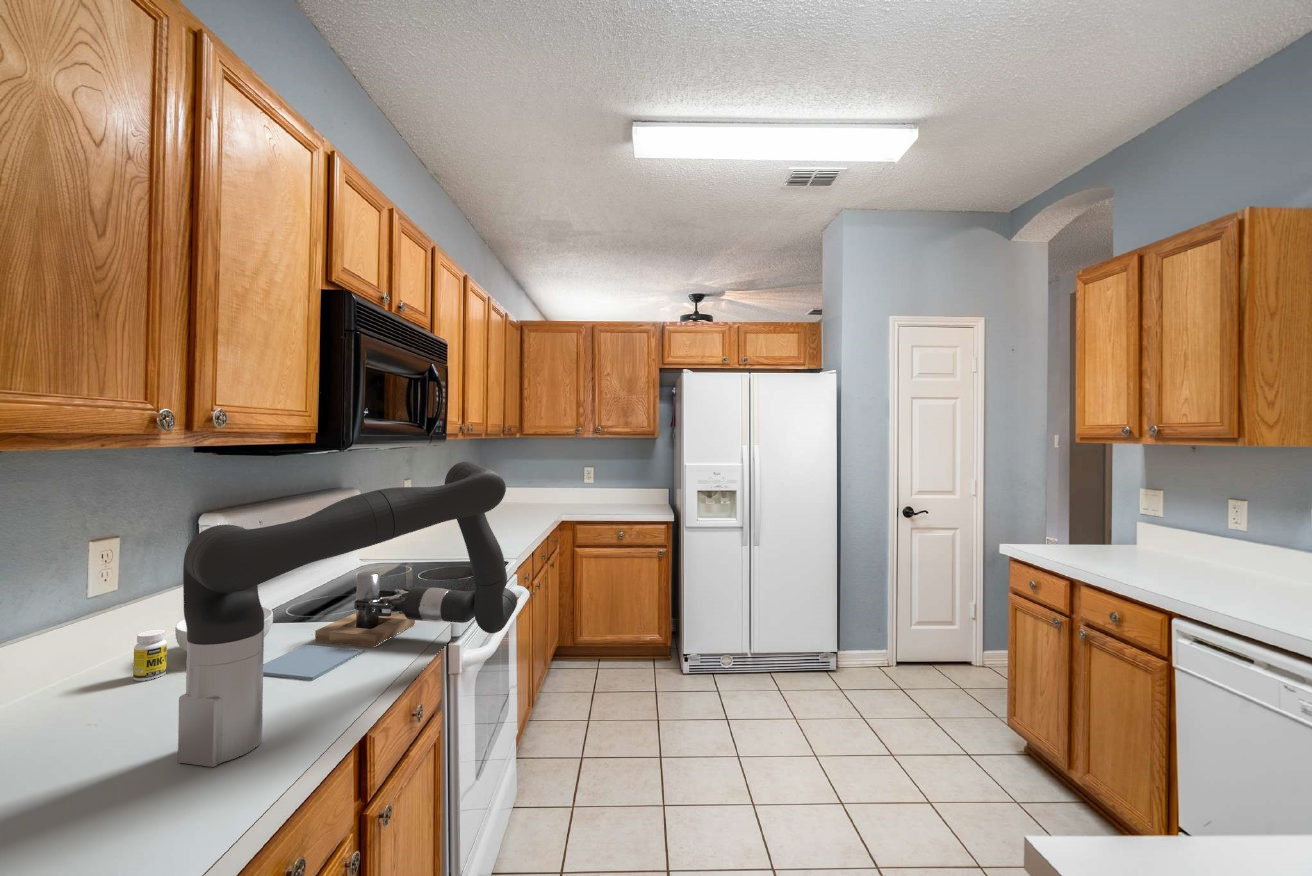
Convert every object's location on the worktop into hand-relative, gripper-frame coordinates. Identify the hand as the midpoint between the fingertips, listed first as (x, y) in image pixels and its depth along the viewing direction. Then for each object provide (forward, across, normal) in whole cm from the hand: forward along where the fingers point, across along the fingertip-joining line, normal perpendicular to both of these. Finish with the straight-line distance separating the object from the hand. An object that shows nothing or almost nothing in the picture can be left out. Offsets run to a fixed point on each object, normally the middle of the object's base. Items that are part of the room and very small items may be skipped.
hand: (367, 599), depth 134 cm
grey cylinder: (0, 0, +8) cm, 8 cm away
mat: (0, +18, +8) cm, 20 cm away
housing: (0, 0, +8) cm, 8 cm away
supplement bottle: (+24, +30, +8) cm, 39 cm away
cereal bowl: (+22, +16, +8) cm, 28 cm away
